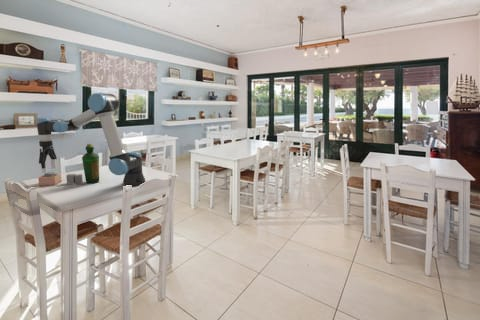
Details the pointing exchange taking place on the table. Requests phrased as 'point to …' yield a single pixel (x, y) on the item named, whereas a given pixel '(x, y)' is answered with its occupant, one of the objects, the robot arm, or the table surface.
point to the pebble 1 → (49, 174)
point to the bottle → (91, 165)
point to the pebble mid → (70, 178)
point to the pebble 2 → (78, 179)
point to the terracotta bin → (49, 180)
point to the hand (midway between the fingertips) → (49, 170)
